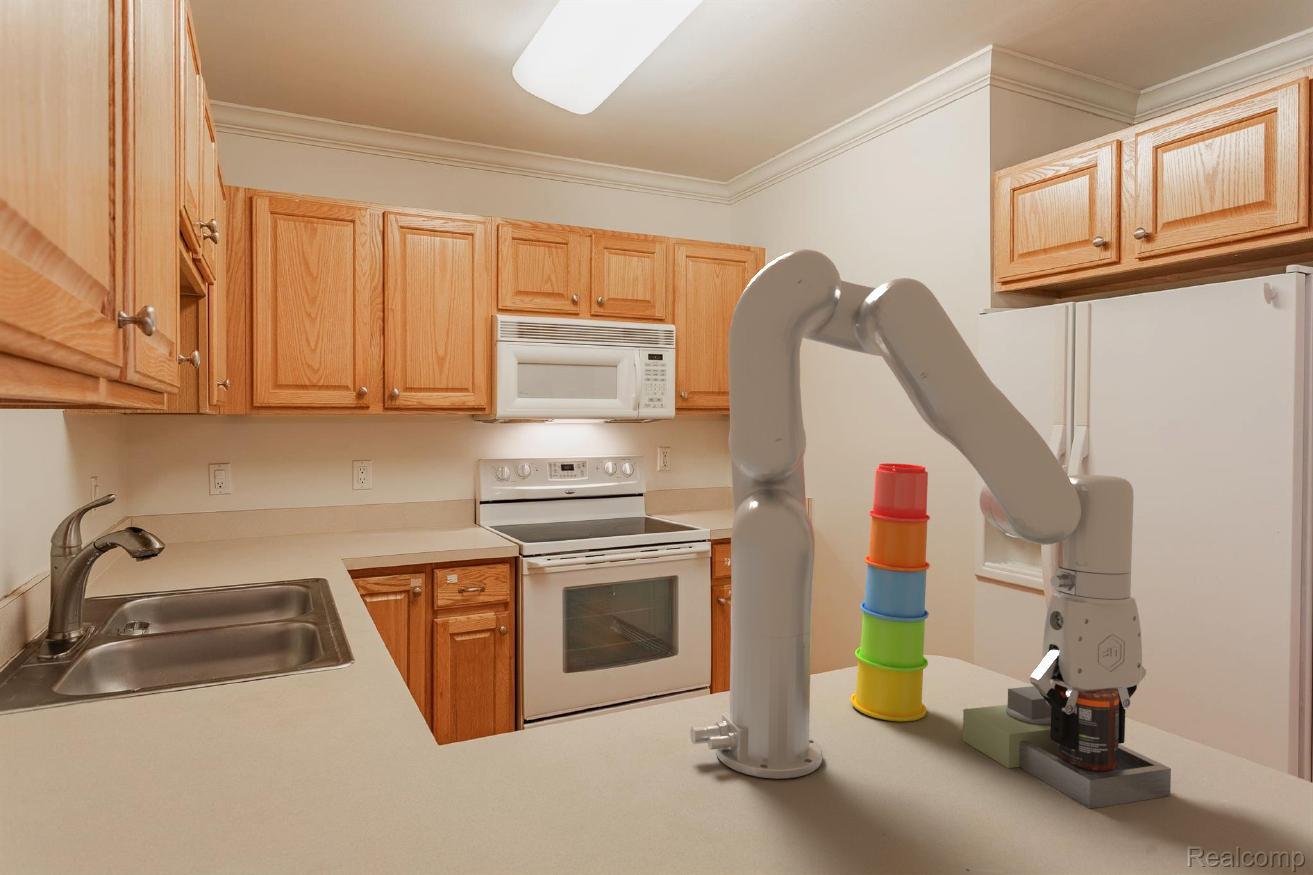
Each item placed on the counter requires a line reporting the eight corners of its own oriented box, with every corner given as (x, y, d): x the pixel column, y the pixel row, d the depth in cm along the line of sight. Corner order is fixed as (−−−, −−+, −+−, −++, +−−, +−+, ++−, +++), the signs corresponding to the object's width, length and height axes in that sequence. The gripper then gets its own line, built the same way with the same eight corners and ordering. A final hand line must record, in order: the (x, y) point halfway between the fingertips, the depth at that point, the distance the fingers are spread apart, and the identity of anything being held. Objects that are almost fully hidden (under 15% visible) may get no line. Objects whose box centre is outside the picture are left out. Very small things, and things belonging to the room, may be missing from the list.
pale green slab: (1008, 768, 88) (1009, 709, 88) (962, 740, 96) (963, 686, 96) (1103, 755, 92) (1104, 699, 92) (1052, 729, 100) (1053, 677, 100)
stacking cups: (918, 697, 111) (923, 462, 110) (933, 725, 101) (939, 466, 100) (847, 693, 113) (851, 461, 112) (854, 719, 102) (859, 464, 102)
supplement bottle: (1101, 753, 89) (1104, 657, 88) (1128, 776, 83) (1131, 674, 82) (1048, 749, 89) (1051, 654, 89) (1071, 773, 83) (1074, 671, 83)
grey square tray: (1089, 808, 79) (1090, 780, 79) (1019, 766, 89) (1019, 741, 89) (1170, 795, 82) (1170, 768, 82) (1093, 756, 92) (1094, 732, 92)
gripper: (1056, 594, 80) (1051, 764, 80) (1181, 588, 84) (1176, 747, 85) (1004, 580, 87) (1000, 735, 87) (1122, 574, 92) (1118, 722, 92)
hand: (1087, 740), depth 86 cm, fingers closed on supplement bottle, 5 cm apart
